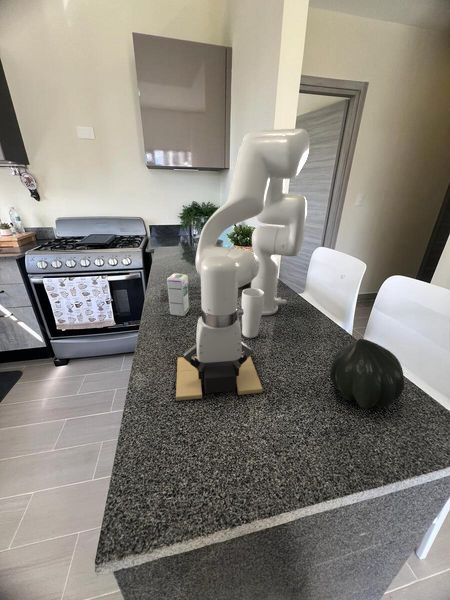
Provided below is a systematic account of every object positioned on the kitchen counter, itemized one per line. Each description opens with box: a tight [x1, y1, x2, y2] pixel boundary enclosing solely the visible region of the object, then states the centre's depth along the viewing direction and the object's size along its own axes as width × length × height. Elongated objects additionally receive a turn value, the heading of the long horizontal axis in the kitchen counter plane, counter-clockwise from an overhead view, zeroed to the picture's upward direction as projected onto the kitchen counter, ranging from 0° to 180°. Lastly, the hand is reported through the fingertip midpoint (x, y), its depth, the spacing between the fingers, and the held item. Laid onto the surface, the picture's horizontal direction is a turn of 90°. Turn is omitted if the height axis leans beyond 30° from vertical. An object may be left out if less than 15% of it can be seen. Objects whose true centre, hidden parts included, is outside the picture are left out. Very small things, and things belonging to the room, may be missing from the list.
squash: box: [329, 337, 405, 410], centre depth 57 cm, size 14×15×15 cm
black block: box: [203, 361, 236, 394], centre depth 60 cm, size 7×7×4 cm
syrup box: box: [166, 273, 190, 317], centre depth 92 cm, size 6×6×14 cm
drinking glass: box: [240, 287, 264, 339], centre depth 79 cm, size 7×7×15 cm
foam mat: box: [175, 352, 263, 402], centre depth 64 cm, size 20×14×1 cm
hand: (218, 378), depth 61 cm, fingers closed on black block, 7 cm apart
